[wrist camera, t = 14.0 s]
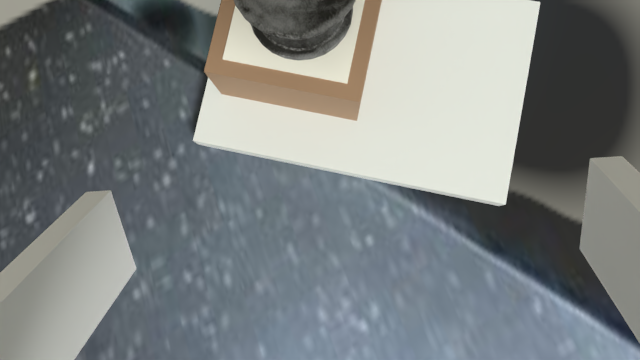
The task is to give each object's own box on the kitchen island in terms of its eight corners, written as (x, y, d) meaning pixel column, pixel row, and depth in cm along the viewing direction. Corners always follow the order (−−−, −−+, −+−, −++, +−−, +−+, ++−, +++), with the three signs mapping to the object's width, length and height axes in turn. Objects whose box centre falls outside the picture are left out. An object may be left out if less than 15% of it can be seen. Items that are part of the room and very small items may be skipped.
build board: (532, 11, 31) (571, -36, 26) (498, 206, 30) (533, 198, 25) (243, -42, 32) (224, -97, 27) (198, 144, 31) (169, 124, 26)
